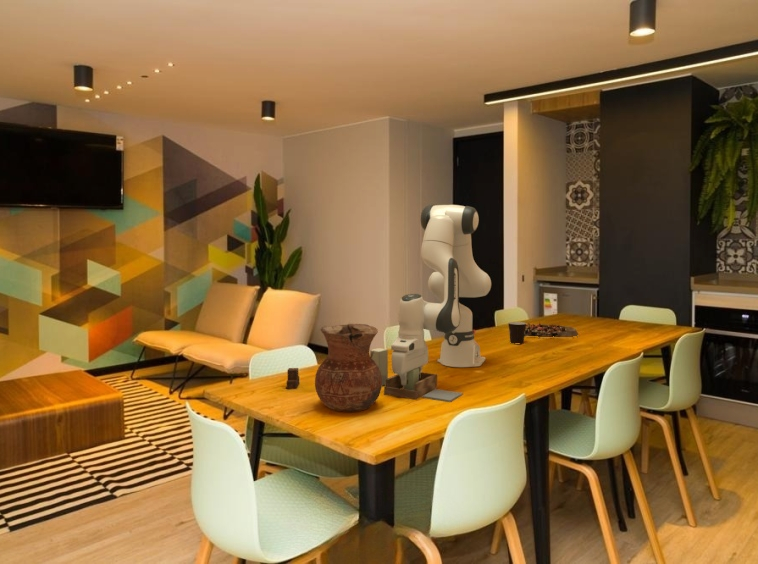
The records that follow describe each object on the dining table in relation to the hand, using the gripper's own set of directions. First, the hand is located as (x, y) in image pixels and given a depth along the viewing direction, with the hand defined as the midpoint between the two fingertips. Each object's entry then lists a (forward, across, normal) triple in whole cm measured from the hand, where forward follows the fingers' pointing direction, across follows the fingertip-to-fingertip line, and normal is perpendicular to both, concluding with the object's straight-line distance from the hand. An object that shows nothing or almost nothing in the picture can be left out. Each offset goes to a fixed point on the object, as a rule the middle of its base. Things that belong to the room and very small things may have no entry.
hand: (411, 381), depth 201 cm
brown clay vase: (+4, +25, -9) cm, 27 cm away
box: (+4, -2, -14) cm, 15 cm away
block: (+3, 0, 0) cm, 3 cm away
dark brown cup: (+4, -105, +3) cm, 105 cm away
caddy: (+3, 0, 0) cm, 3 cm away
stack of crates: (+4, +15, -38) cm, 41 cm away
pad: (+3, 0, +12) cm, 12 cm away
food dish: (+4, -140, +8) cm, 140 cm away
